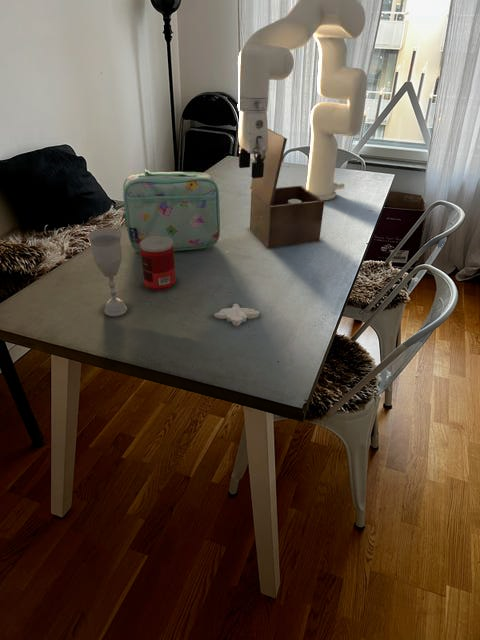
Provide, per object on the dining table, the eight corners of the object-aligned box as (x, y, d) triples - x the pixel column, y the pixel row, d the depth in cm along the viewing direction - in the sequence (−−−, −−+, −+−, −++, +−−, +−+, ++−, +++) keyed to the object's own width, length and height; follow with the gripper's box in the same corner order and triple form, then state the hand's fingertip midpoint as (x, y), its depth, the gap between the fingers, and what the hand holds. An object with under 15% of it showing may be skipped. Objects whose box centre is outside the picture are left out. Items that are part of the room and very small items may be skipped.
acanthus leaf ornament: (259, 316, 104) (259, 309, 103) (239, 329, 100) (240, 322, 99) (233, 304, 108) (233, 297, 107) (213, 316, 104) (213, 309, 103)
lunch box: (125, 257, 127) (115, 179, 115) (125, 242, 135) (115, 167, 123) (221, 250, 132) (221, 174, 120) (215, 236, 140) (215, 163, 128)
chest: (297, 223, 150) (301, 185, 144) (319, 241, 139) (324, 201, 132) (249, 229, 145) (251, 190, 139) (268, 248, 134) (270, 207, 127)
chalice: (102, 301, 108) (90, 228, 98) (132, 301, 108) (123, 228, 98) (97, 319, 102) (84, 243, 92) (129, 318, 102) (119, 242, 92)
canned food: (180, 278, 118) (178, 238, 112) (166, 293, 112) (163, 251, 105) (153, 273, 120) (150, 233, 114) (138, 287, 114) (133, 246, 107)
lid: (265, 126, 130) (262, 126, 130) (287, 138, 118) (284, 138, 118) (252, 188, 138) (250, 188, 138) (272, 205, 127) (269, 205, 127)
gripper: (280, 109, 113) (275, 180, 122) (254, 98, 126) (251, 163, 136) (251, 111, 110) (249, 183, 120) (228, 99, 124) (227, 164, 133)
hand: (250, 172), depth 128 cm, fingers open, 9 cm apart
